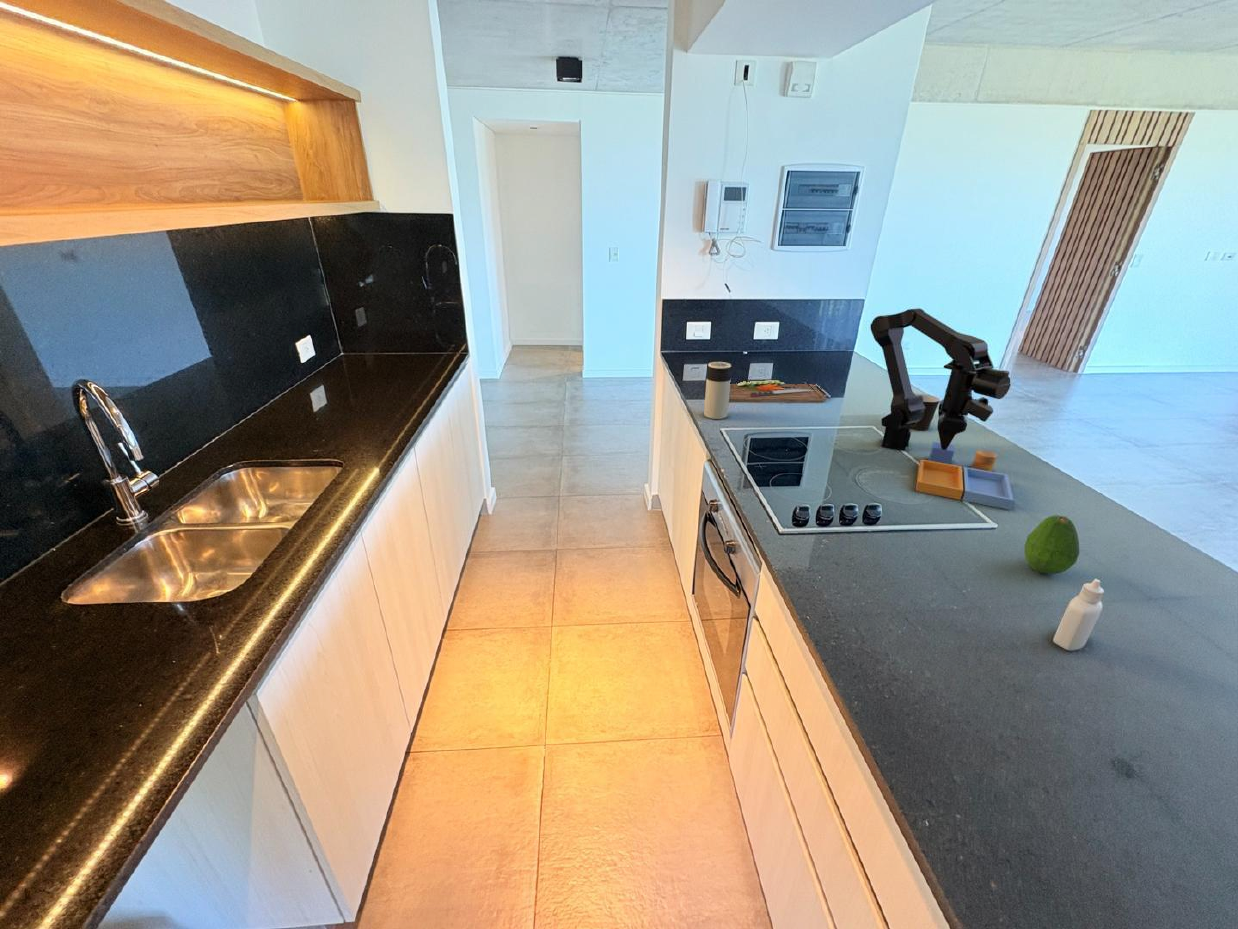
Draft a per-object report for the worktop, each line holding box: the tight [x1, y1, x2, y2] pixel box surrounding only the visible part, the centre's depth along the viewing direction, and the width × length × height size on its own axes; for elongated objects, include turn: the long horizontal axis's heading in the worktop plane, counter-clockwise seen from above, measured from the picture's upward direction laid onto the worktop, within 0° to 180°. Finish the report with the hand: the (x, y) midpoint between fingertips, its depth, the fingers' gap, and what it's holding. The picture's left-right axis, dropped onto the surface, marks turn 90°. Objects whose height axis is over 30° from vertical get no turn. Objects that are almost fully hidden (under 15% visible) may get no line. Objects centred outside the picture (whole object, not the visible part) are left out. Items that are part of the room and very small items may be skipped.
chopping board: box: [729, 380, 832, 404], centre depth 207 cm, size 45×27×3 cm, turn 88°
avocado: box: [1024, 514, 1080, 574], centre depth 99 cm, size 8×8×12 cm
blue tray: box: [961, 466, 1015, 511], centre depth 130 cm, size 10×16×3 cm, turn 150°
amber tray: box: [915, 458, 963, 501], centre depth 135 cm, size 10×16×3 cm, turn 150°
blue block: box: [928, 441, 955, 465], centre depth 145 cm, size 5×5×5 cm
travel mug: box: [703, 361, 732, 420], centre depth 178 cm, size 8×8×18 cm
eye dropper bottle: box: [1053, 578, 1105, 652], centre depth 82 cm, size 4×6×12 cm
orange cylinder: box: [971, 449, 998, 472], centre depth 141 cm, size 5×5×5 cm
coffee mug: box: [910, 393, 941, 432], centre depth 171 cm, size 12×9×10 cm
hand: (943, 443), depth 144 cm, fingers open, 9 cm apart
